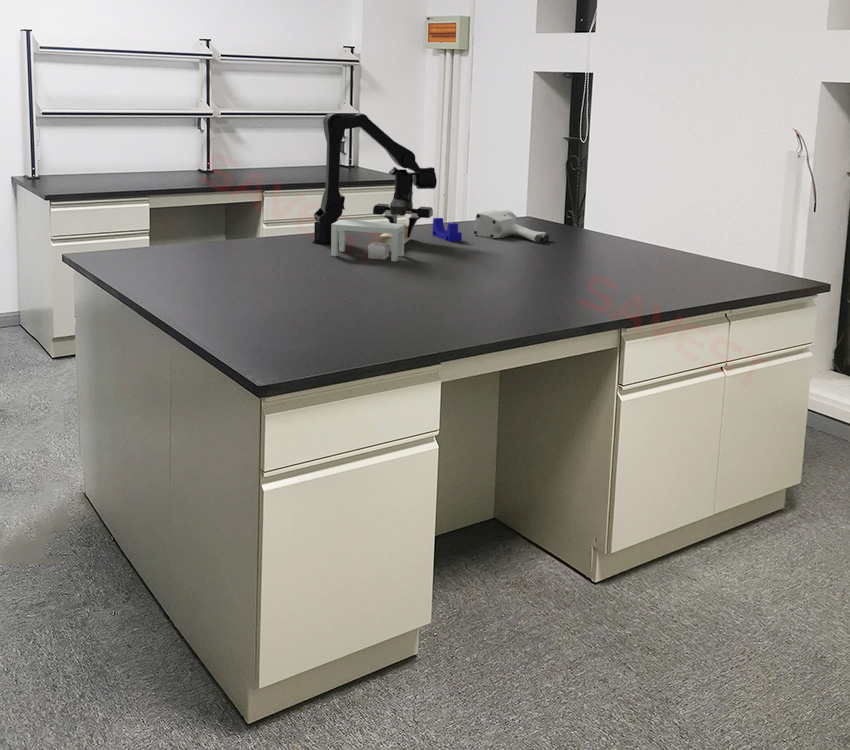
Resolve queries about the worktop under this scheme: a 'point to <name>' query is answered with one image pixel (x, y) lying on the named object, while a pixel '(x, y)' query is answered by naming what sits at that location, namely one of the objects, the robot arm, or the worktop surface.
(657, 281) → the worktop surface
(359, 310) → the worktop surface
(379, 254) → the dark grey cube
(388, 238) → the batten
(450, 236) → the cable clip
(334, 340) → the worktop surface
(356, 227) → the small white table
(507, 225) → the impact wrench
